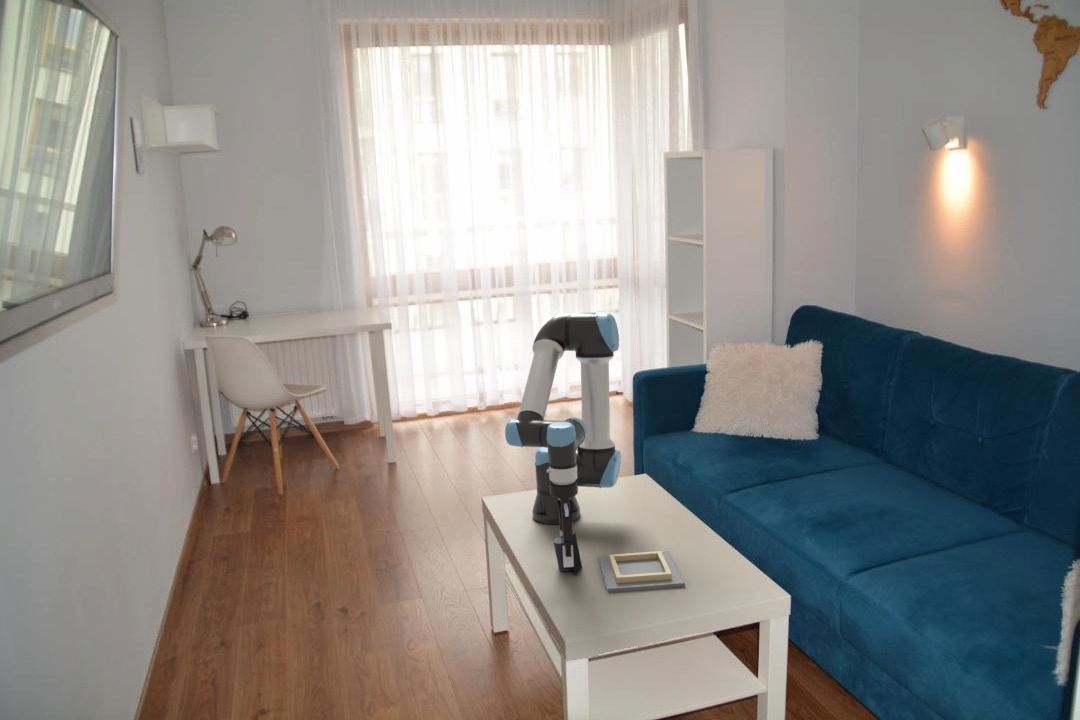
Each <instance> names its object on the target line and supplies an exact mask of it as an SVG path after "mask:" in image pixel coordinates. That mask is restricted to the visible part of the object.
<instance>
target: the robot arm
mask: <svg viewBox="0 0 1080 720" xmlns="http://www.w3.org/2000/svg"><path fill="white" fill-rule="evenodd" d="M618 328H619V327H618V323H617V321H616V319H615V317H614V316H613V315H612V314H611V313H610V312H609V313H608V312H598V311H597V312H564V313H559V314H556V315H555V316H553V317H551V319H549V320H548V321H547V322H546V323H545V324H544V325H543V326H541V328H540V330H538V332H537V333H536V336H535V338H534V340H533V344H532V352H533V357H532V361H531V365H530V369H529V372H528V376H527V378H526V379H527V381H526V383H525V388H524V392H523V395H522V399H521V402H520V406H519V410H518V415H517V418H513V419H509V420H508V421H507V423H506V424H505V430H504V432H505V433H504V436H505V440H506V443H507V444H508V446H510V447H511V446H512V447H520V448H525V447H526V448H537V450H536V451H535V454H534V456H535V461H534V466H535V479H536V480H535V481H536V483H535V484H536V495H535V500H534V503H533V507H532V519H533V518H534V519H535V520H534V519H533V520H534V521H536V520H537V521H539V522H538V523H540V522H541V524H544V523H545V524H546V525H559V537H561V536H563V543H560V545H561V546H563V565H564V567H574V559H573V544H574V542H573V522H575V521H576V520H578V519H579V518H580V516H581V509H580V508H581V507H580V505H579V502H578V499H577V497H576V495H578V493H579V487H585V488H599V489H601V488H603V489H604V488H607V489H608V488H613V487H614V486H615V485H616V484H617V481H618V480H619V475H620V470H621V464H622V454H621V453H622V452H621V451H620V450H618V449H616V444H615V442H614V441H613V440H612V439H611V417H610V413H611V412H610V409H611V408H610V407H611V406H610V368H609V367H610V365H609V362H610V361H611V360H612V359H613V358H614V356H615V355H614V352H617V351H618V350H619V349H620V334H619V329H618ZM566 351H567V352H570V351H571V352H575V359H577V360H578V361H579V363H580V384H581V385H580V387H581V388H580V389H581V390H580V391H581V392H580V394H581V397H580V398H581V419H580V418H578V417H572V416H571V417H569V418H566V419H565V420H545V416H546V414H547V413H546V412H547V408H548V404H549V400H550V395H551V392H552V387H553V384H554V380H555V376H556V370H557V368H558V364H559V360H561V359H562V358H563V357H564V353H565V352H566ZM537 521H536V522H537ZM545 524H544V525H545Z"/></svg>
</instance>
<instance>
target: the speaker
mask: <svg viewBox="0 0 1080 720" xmlns="http://www.w3.org/2000/svg"><path fill="white" fill-rule="evenodd" d="M572 533H573V542H574V544H573V559H574V567H564V565H563V546H561V545H560V543H563V536H561V537H560V536H558V537H556V538H555V539H553V546H554V551H555V552H554V553H555V555H556V561H557V566H558V570H560V571H561V572H570V571H574V575H575V576H578V574H579V572H580V571H581V570H582V568H583V565H582V560H581V555H580V549H579V544H578V540H577V535H576V531H572Z"/></svg>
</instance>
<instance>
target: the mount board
mask: <svg viewBox="0 0 1080 720" xmlns="http://www.w3.org/2000/svg"><path fill="white" fill-rule="evenodd" d="M597 560H598V564H599V567H600V572H601V574H602V577H603V580H604V585H605V584H606V585H605V587H606V591H607V593H615V592H616V593H617V591H620V592H630V591H631V592H633V591H644V590H646V589H647V590H657V589H658V590H659V589H670V588H671V589H672V588H684V587H686V582H685V580H684V578H683V577H682V574H681V573H680V570H679V569H678V566H677V565H676V563H675V561H674V558H673V556H672V554H671V552H670V551H669V550H667V551H662V550H658V551H657V550H656V551H655V550H654V551H645V552H629V553H628V552H627V553H615V554H609V555H599V556H597ZM632 590H633V591H632ZM647 590H646V591H647Z"/></svg>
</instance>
